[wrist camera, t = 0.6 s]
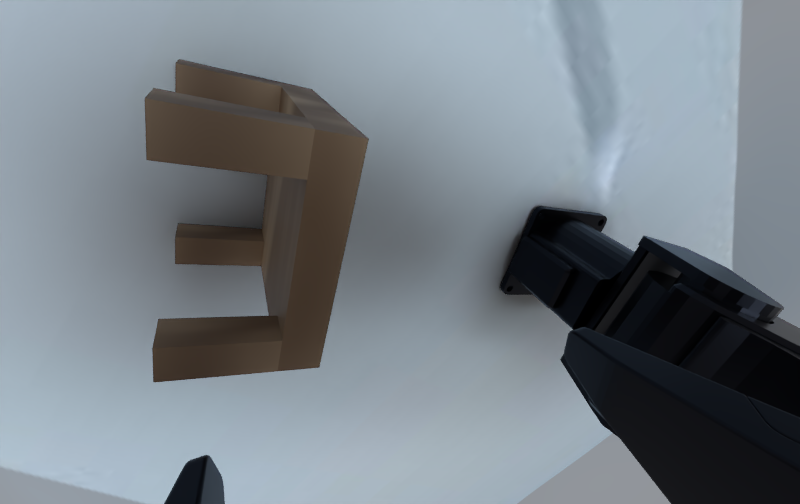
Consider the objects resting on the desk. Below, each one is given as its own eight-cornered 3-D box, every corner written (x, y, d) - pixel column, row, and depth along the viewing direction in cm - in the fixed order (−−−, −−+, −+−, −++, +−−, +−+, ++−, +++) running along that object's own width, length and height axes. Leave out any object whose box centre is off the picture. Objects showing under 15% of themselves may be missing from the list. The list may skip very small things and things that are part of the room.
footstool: (311, 89, 16) (368, 138, 10) (288, 253, 20) (319, 367, 13) (179, 59, 14) (144, 98, 8) (178, 249, 18) (153, 382, 11)
